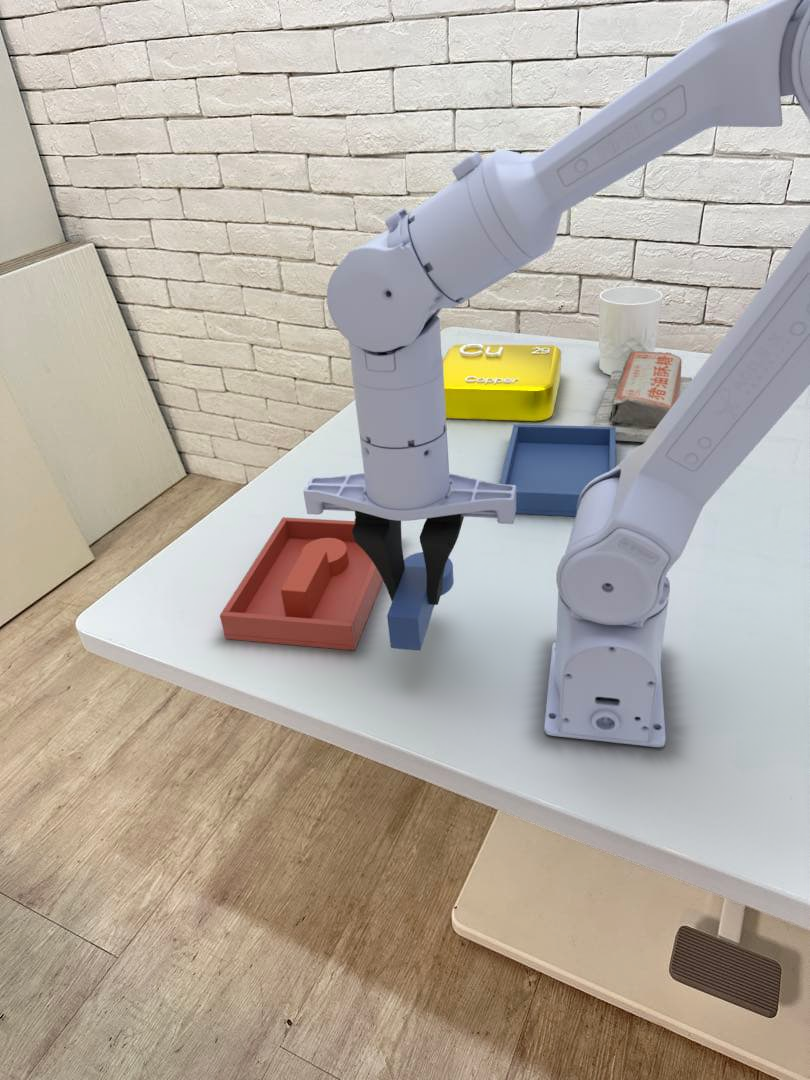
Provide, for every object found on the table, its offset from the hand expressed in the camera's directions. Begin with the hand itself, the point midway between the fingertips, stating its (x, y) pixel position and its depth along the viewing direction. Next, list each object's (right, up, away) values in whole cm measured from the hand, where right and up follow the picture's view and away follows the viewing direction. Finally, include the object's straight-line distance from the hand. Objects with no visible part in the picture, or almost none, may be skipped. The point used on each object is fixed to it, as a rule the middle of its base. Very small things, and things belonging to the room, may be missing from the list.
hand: (417, 595), depth 59 cm
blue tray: (+15, +11, +25) cm, 31 cm away
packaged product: (+28, +19, +37) cm, 50 cm away
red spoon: (-9, 0, +12) cm, 14 cm away
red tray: (-9, 0, +12) cm, 15 cm away
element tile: (+11, +23, +44) cm, 51 cm away
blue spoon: (0, -1, +1) cm, 2 cm away
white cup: (+29, +27, +49) cm, 63 cm away
